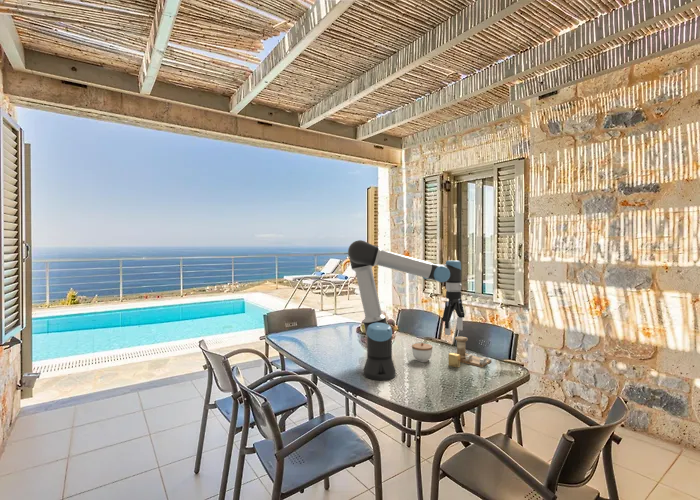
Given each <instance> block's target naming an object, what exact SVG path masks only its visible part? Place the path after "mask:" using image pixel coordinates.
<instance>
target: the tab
mask: <svg viewBox="0 0 700 500" xmlns="http://www.w3.org/2000/svg"><path fill="white" fill-rule="evenodd" d="M455 353H456V352H449V353H448V366H449V367H454V368H460V367H461V362H460V354H455Z"/></svg>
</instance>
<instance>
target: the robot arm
mask: <svg viewBox="0 0 700 500" xmlns="http://www.w3.org/2000/svg"><path fill="white" fill-rule="evenodd" d="M347 255H348V258H349V263H350V267H351V270H352V271H354V272H355V277H356V281H357V286H358V289H359V295H360V298H361V303H362V308H363V312H364V318H363V320H362V321H363V326H364V327H363V328H364V331H365V333H364V334H365V337H366V347H367V348H366V351H367V352H366V355H367V356H366V361H365V365H364V367H363V376H364V377H365V378H367V379H370V380H374V381H387V380H392V379H393V378H396V376H397V375H396V374H397V373H396V369H395V365H394V361H393V330H392V329H393V328H392V327H391V325H390V324H388V322H387V317H386V315H384V314H383V313H382V310H381V309H382V308H381V305H380V304H381V303H380V301H379V295H378V289H377V285H376V281H375V276H374V273H373V267H376V266H380V267H383V268H386V269H387V268H388V269H391V270H396V271H399V272H403V273H406V274H410V275H412V276H413V275H415V276H417V277H421V278H423V279H424V280H429V281H430V280H432V281H436V282H438V283H445V290H446V291H445V297H446V299H448V301H445V302H444V303H445V304H444V308H443V309H444V310H443V315H442V319H441V320H442V322H444V335H446V336H451V334H452V332H451V331H452V330H451V326H452V325H451V318H452V315H453V312H455V313H456V315H457V317H456V330H457V331H463V327H464V325H463V324H464V322H463V319H464V318H465V310H464V306H463V300H462V287H463V284H462V262H461V261H460V260H446V261H445V264H436V263H432V262H430V261H429V262H428V261H425V260H421V259H417V258H414V257H410V256H406V255H402V254H400V253H396V252H391V251H387V250H384V249H381V247H379V246H378V245H375V244H374V245H373V244H371V243H369V242H367V241H365V240H361V239H359V240H355V241H353V242H352V243H351V244H350V245H349V247H348V249H347Z"/></svg>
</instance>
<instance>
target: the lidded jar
mask: <svg viewBox="0 0 700 500" xmlns="http://www.w3.org/2000/svg"><path fill="white" fill-rule="evenodd" d="M411 347H412V348H411V351H412V356H413V358H414V359H415V360H416V361H417V362H420V363H427V362H429V360H430V359H431V358H432V355H433V345H432V344H429V343H424V342H420V343H419V342H418V343H414V344H412V345H411Z"/></svg>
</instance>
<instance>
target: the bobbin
mask: <svg viewBox="0 0 700 500" xmlns="http://www.w3.org/2000/svg"><path fill="white" fill-rule="evenodd" d="M454 340H455V341H456V352H454V353H455V354H460V359H465V356H467V355H469V354H470V353H466V342H468V337H466V336H462V335H461V336H460V335H459V336H455V337H454Z"/></svg>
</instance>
